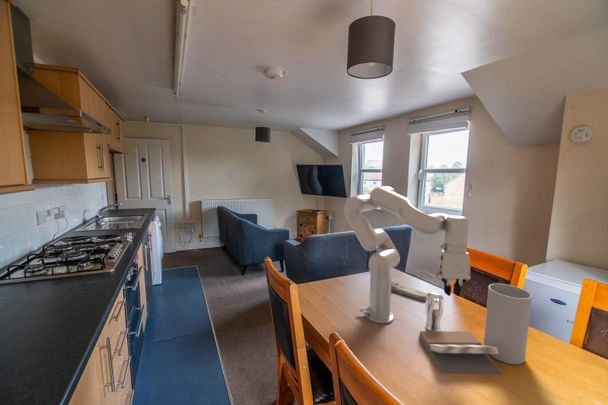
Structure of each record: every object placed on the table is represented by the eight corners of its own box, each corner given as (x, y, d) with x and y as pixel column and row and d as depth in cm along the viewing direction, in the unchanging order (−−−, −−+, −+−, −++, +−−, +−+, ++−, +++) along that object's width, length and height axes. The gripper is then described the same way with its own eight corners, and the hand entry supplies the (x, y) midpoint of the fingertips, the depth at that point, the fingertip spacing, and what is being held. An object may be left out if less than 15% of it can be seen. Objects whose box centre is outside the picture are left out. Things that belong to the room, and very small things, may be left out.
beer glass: (440, 325, 118) (442, 293, 117) (443, 334, 112) (445, 300, 110) (423, 322, 121) (425, 291, 119) (425, 331, 114) (427, 298, 112)
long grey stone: (426, 307, 137) (433, 302, 144) (428, 298, 137) (434, 292, 144) (367, 284, 162) (376, 280, 169) (368, 275, 161) (377, 272, 168)
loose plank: (440, 352, 92) (439, 346, 92) (430, 350, 99) (429, 344, 100) (498, 353, 91) (497, 347, 92) (484, 351, 99) (483, 344, 100)
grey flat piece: (442, 372, 91) (442, 362, 90) (418, 338, 109) (419, 329, 109) (501, 373, 90) (502, 363, 90) (467, 338, 109) (468, 330, 109)
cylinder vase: (527, 370, 92) (535, 302, 89) (484, 357, 98) (489, 293, 95) (521, 350, 102) (528, 288, 99) (482, 339, 109) (487, 281, 106)
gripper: (438, 251, 97) (435, 298, 99) (483, 251, 97) (479, 299, 99) (429, 245, 105) (426, 289, 107) (470, 245, 104) (467, 290, 107)
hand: (451, 293), depth 103 cm, fingers open, 2 cm apart
